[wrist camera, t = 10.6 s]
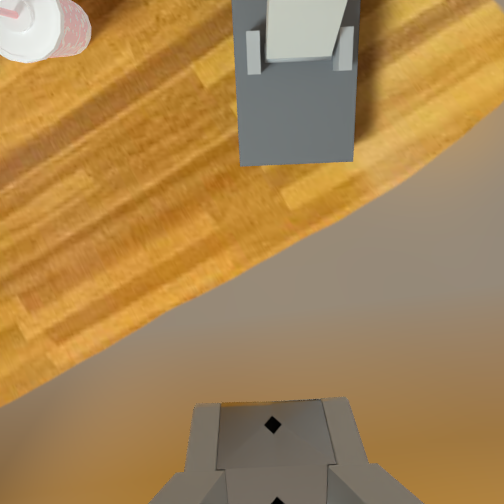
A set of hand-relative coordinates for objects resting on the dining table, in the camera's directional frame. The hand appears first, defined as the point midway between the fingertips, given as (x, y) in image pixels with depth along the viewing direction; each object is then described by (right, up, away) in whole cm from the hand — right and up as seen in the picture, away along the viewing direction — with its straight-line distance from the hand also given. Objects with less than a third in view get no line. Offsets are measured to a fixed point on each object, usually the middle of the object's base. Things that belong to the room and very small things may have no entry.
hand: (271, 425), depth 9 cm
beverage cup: (-17, +23, +30) cm, 42 cm away
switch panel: (+3, +21, +31) cm, 38 cm away
